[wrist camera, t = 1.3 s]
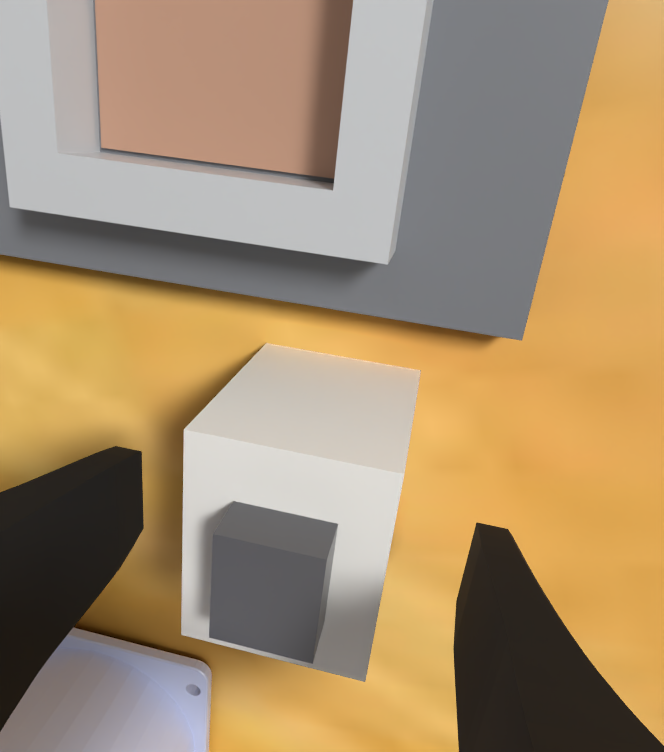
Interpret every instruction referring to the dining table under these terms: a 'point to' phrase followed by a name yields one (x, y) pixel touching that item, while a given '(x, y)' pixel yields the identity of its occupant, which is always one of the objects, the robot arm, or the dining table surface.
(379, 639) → the dining table surface
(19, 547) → the robot arm
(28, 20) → the socket dock
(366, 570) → the plug
